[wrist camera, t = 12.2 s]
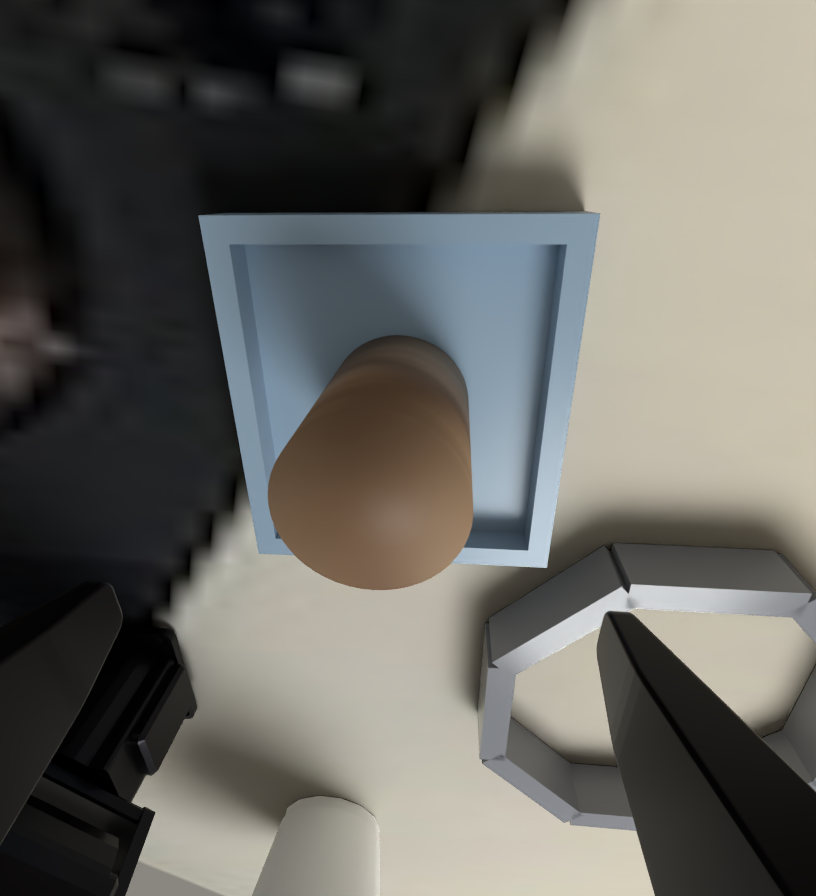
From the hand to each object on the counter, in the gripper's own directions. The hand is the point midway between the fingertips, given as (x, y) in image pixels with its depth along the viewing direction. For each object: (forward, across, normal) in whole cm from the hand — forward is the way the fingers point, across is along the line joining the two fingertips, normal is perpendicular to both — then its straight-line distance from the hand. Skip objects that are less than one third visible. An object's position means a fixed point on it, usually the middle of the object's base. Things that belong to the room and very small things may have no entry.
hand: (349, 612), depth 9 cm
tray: (+11, 0, 0) cm, 11 cm away
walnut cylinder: (+10, 0, 0) cm, 10 cm away
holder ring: (+11, -12, +15) cm, 22 cm away
